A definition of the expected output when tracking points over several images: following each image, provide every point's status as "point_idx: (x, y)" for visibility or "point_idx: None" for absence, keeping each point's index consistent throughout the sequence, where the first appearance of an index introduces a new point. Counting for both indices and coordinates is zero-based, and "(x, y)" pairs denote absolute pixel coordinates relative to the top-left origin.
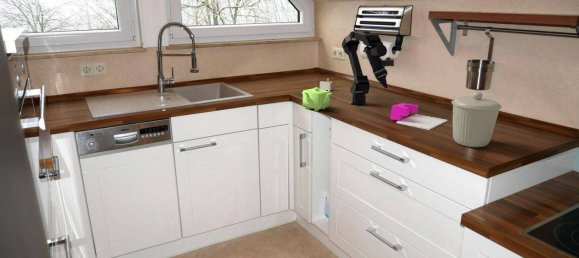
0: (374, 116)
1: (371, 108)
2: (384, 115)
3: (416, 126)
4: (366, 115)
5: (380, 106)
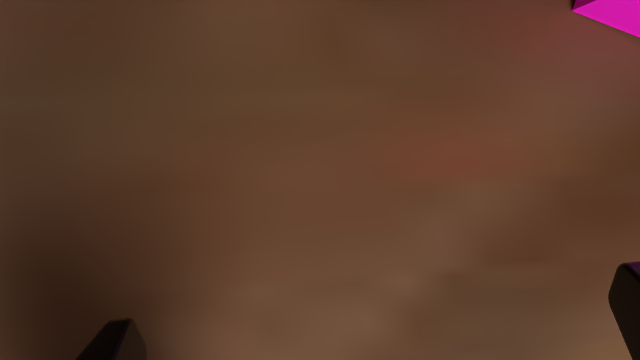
0: None
1: (267, 334)
2: (558, 169)
3: None
4: (599, 353)
5: (122, 239)
